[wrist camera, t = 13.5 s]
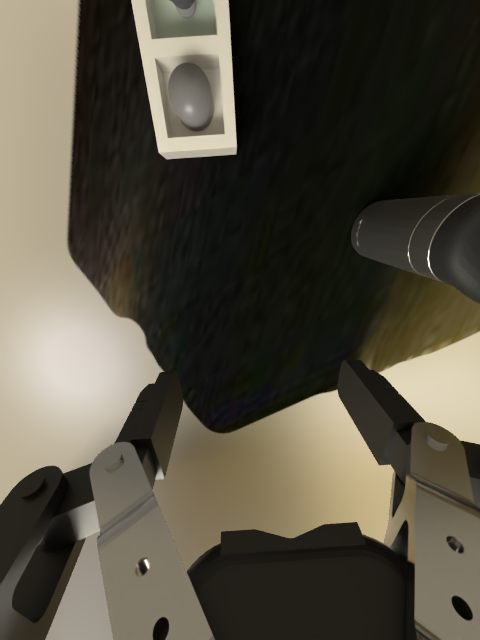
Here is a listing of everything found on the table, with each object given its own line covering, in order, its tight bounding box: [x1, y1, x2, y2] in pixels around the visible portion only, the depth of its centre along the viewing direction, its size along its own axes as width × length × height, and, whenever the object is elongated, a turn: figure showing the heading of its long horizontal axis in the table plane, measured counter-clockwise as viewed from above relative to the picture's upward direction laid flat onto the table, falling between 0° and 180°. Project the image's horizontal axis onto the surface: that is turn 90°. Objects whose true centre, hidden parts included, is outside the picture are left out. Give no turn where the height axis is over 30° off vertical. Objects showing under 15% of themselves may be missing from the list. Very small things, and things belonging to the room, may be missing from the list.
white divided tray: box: [131, 0, 237, 159], centre depth 27 cm, size 10×20×6 cm, turn 4°
